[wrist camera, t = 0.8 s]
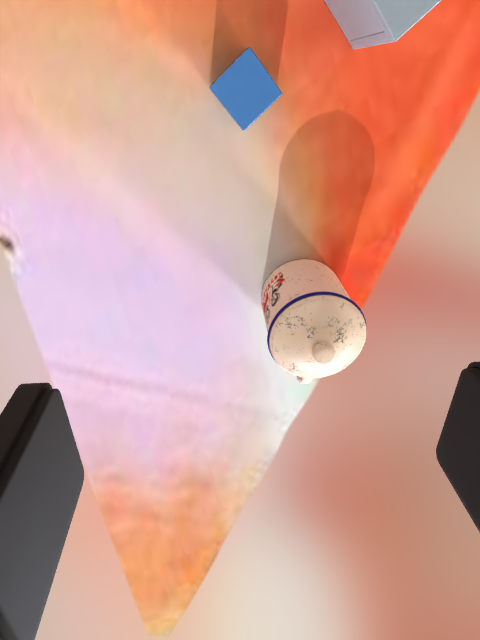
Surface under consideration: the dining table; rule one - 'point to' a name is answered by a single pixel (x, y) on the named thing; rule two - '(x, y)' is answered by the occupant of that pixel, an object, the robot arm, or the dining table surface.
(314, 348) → the teacup with lid
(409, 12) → the grey drawer cabinet
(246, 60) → the blue wooden cube
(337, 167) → the dining table surface
